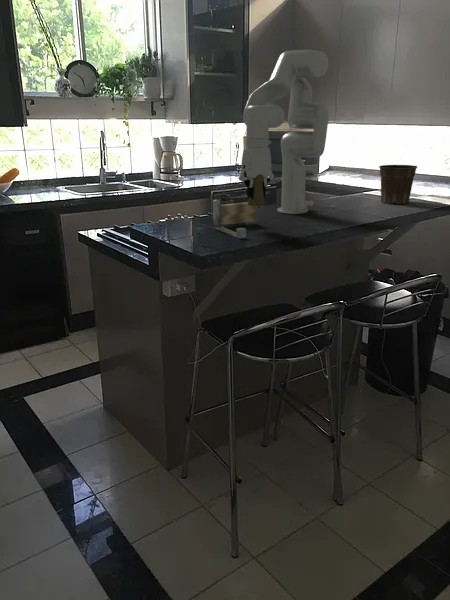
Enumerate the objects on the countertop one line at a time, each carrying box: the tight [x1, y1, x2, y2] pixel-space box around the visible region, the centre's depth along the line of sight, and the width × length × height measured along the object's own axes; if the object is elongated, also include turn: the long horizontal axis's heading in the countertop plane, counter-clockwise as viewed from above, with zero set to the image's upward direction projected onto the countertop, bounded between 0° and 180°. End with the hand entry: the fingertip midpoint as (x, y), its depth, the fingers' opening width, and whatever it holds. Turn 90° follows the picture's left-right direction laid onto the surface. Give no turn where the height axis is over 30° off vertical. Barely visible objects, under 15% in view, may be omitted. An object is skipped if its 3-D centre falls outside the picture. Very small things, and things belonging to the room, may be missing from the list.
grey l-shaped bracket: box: [212, 199, 247, 239], centre depth 176 cm, size 20×2×10 cm, turn 29°
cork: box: [247, 174, 266, 207], centre depth 179 cm, size 6×6×11 cm
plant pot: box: [378, 164, 418, 205], centre depth 231 cm, size 16×16×16 cm
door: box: [220, 201, 257, 226], centre depth 188 cm, size 14×3×7 cm, turn 117°
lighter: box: [211, 192, 234, 220], centre depth 197 cm, size 8×3×10 cm, turn 92°
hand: (256, 197), depth 181 cm, fingers closed on cork, 4 cm apart
